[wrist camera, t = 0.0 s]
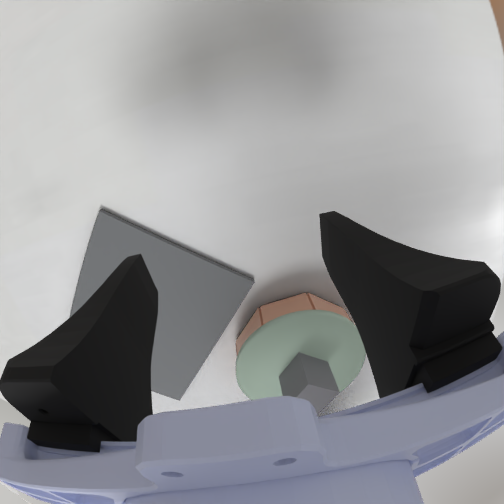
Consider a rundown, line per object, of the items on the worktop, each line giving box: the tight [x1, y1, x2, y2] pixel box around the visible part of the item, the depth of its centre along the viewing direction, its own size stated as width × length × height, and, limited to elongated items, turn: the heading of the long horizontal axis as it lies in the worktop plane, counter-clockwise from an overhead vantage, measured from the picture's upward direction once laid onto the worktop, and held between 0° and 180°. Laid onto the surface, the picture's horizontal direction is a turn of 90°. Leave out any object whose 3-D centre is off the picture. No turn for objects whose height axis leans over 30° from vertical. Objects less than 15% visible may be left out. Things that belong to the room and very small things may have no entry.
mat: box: [70, 209, 254, 401], centre depth 25 cm, size 16×13×1 cm
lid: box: [236, 310, 366, 414], centre depth 23 cm, size 11×11×4 cm
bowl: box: [236, 293, 352, 355], centre depth 26 cm, size 10×10×3 cm
